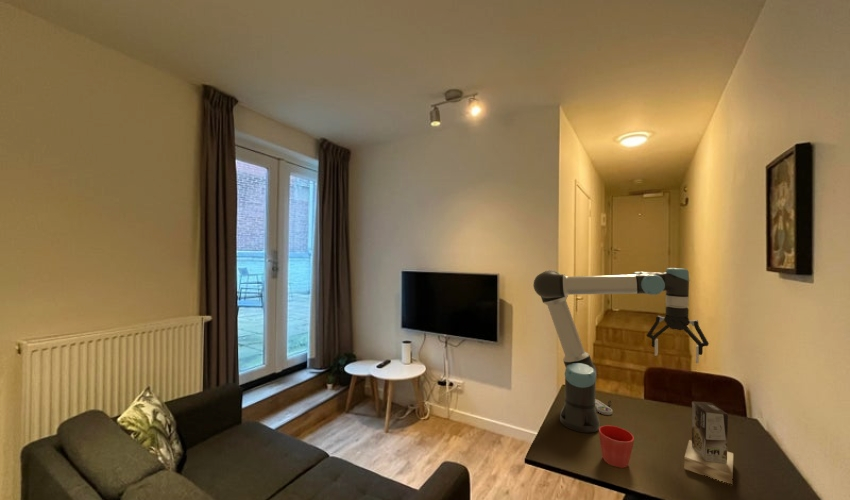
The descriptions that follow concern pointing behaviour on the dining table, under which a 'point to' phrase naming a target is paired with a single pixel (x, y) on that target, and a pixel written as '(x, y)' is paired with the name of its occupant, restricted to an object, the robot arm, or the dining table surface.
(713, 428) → the coffee box
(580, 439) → the dining table surface
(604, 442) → the flower pot
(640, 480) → the dining table surface
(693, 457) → the stand
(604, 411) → the game controller
